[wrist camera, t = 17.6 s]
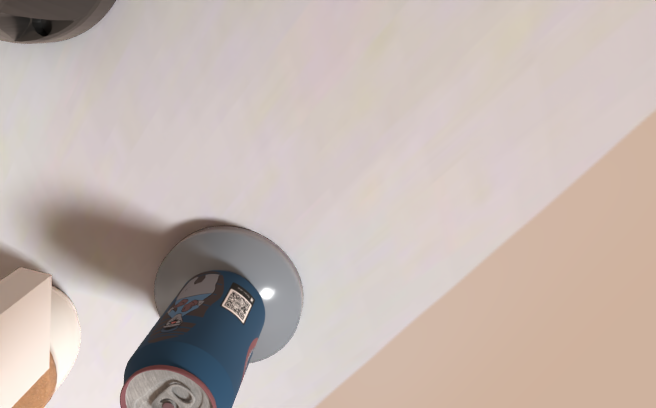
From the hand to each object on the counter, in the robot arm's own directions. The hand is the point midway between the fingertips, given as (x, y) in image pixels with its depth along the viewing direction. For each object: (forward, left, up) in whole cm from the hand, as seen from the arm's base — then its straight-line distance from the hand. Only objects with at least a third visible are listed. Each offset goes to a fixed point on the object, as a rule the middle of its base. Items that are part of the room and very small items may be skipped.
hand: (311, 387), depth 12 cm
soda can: (-3, -16, -25) cm, 30 cm away
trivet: (-3, -16, -26) cm, 31 cm away
